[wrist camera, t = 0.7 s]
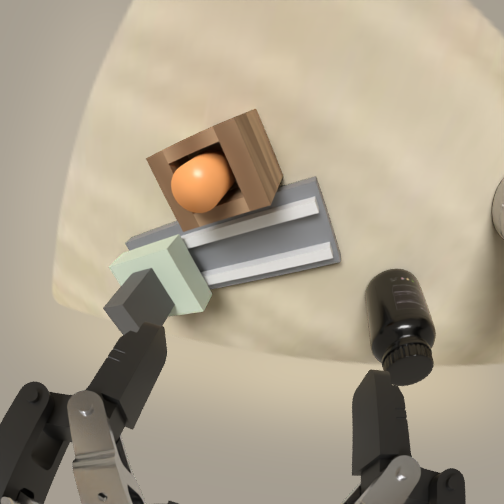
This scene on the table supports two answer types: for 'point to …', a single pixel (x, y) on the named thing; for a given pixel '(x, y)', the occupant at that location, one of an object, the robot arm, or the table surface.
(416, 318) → the supplement bottle
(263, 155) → the cabinet
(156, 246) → the carriage
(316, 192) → the track
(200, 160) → the button
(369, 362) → the table surface
